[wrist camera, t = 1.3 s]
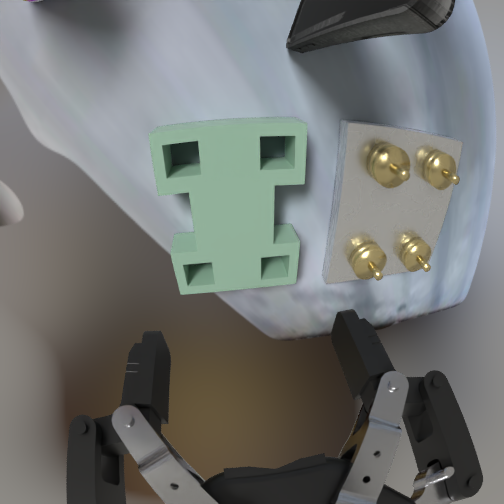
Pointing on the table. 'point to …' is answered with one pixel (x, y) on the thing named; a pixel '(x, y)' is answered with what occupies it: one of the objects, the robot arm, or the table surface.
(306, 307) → the table surface
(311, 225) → the table surface
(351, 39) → the phone
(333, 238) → the chassis
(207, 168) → the board
